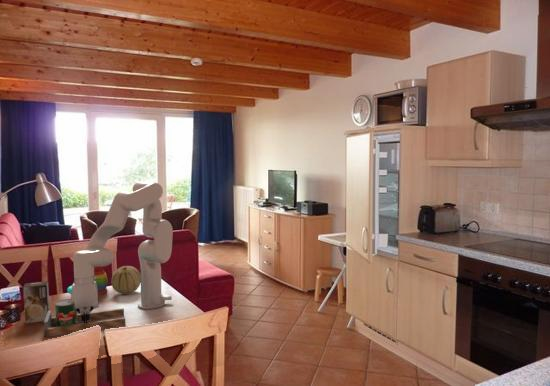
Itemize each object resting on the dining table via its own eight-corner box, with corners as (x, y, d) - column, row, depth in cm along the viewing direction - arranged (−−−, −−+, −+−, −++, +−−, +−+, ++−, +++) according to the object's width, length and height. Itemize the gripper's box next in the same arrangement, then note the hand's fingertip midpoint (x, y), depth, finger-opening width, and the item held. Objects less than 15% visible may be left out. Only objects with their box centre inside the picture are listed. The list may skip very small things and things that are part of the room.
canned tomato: (61, 333, 164) (60, 306, 163) (52, 328, 169) (51, 302, 168) (80, 327, 170) (80, 301, 169) (71, 322, 175) (71, 297, 174)
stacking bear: (102, 289, 223) (102, 257, 221) (112, 292, 216) (111, 259, 215) (83, 293, 214) (82, 260, 213) (92, 298, 208) (91, 263, 207)
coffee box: (50, 315, 183) (49, 280, 182) (48, 320, 177) (47, 284, 176) (26, 318, 179) (25, 283, 178) (24, 324, 173) (22, 287, 172)
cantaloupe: (138, 287, 225) (137, 261, 224) (144, 295, 213) (143, 266, 212) (109, 291, 218) (108, 264, 217) (114, 299, 205) (113, 270, 204)
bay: (123, 314, 184) (123, 301, 184) (125, 325, 172) (125, 311, 172) (48, 324, 173) (48, 310, 172) (44, 337, 160) (44, 322, 160)
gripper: (103, 276, 177) (104, 317, 178) (64, 279, 171) (66, 322, 172) (103, 280, 170) (104, 323, 172) (63, 284, 164) (65, 328, 166)
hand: (85, 322), depth 172 cm, fingers closed
